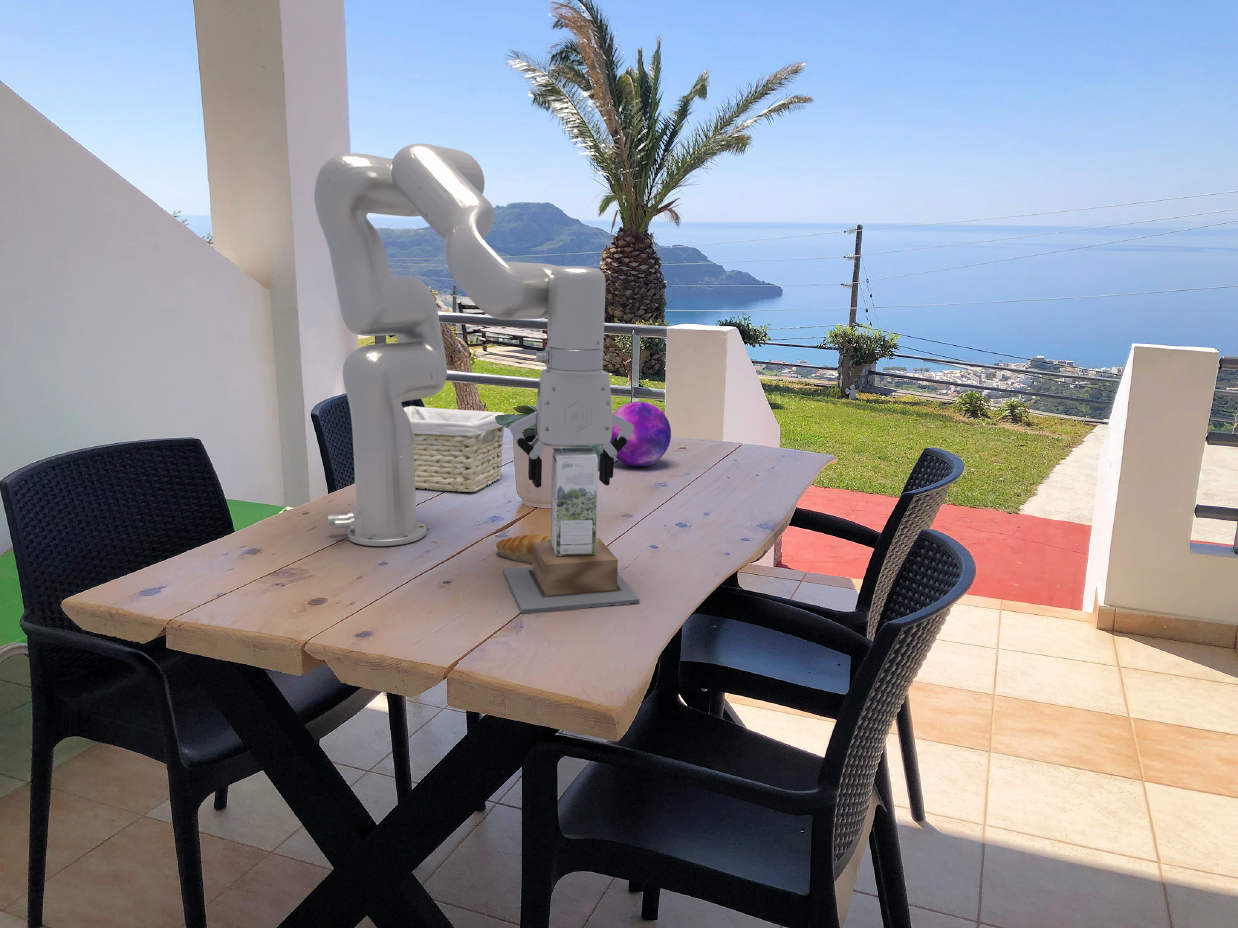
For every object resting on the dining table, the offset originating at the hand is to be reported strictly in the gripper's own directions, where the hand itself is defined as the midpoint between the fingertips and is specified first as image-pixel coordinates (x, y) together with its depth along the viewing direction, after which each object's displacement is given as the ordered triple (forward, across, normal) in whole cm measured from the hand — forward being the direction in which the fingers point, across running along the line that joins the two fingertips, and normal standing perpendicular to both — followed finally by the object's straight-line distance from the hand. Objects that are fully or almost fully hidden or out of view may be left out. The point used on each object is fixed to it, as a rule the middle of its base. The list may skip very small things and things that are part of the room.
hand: (570, 483), depth 118 cm
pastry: (+15, -3, +13) cm, 20 cm away
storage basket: (+17, -13, +64) cm, 67 cm away
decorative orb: (+16, +33, +71) cm, 80 cm away
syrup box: (+10, +1, 0) cm, 10 cm away
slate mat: (+15, 0, -2) cm, 15 cm away
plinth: (+15, +1, -1) cm, 15 cm away
